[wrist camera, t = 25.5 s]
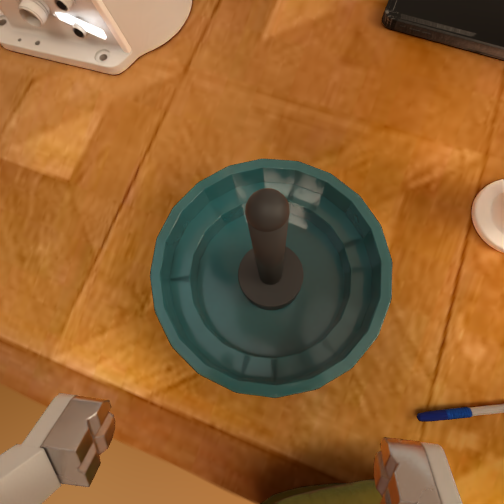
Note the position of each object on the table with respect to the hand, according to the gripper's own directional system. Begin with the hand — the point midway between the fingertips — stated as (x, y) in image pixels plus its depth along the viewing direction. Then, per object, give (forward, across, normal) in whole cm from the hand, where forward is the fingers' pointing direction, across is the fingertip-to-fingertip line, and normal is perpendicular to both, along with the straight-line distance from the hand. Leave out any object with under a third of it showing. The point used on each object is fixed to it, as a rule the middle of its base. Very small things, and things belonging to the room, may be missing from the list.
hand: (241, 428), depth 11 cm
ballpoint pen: (+13, -18, +14) cm, 26 cm away
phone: (+41, -17, -13) cm, 46 cm away
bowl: (+20, 0, +9) cm, 21 cm away
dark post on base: (+19, 0, +8) cm, 21 cm away
